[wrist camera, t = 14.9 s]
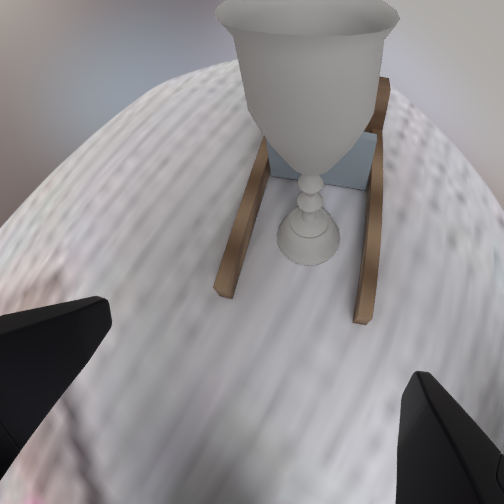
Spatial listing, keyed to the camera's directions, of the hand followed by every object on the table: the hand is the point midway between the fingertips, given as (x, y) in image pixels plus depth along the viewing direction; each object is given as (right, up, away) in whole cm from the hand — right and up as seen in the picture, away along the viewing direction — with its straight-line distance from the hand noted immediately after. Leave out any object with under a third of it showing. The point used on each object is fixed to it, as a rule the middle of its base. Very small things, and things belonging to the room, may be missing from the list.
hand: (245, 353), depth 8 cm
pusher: (+6, +9, +18) cm, 21 cm away
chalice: (+5, +4, +17) cm, 18 cm away
